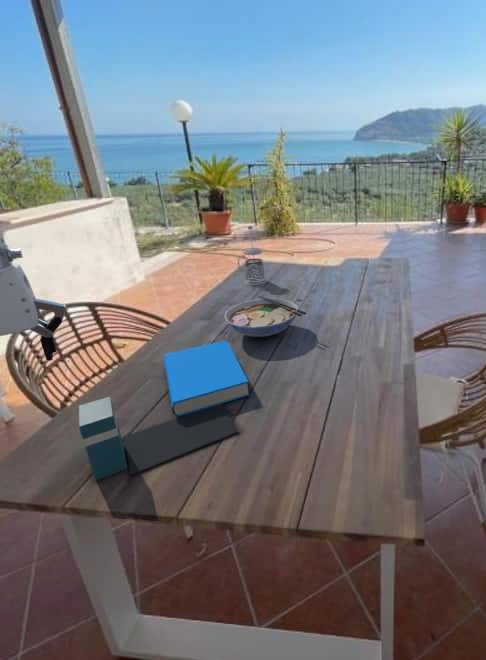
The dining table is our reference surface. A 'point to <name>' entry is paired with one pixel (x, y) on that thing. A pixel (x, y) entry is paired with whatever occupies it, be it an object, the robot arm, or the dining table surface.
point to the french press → (253, 261)
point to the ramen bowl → (262, 316)
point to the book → (204, 377)
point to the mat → (177, 437)
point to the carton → (102, 437)
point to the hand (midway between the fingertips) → (12, 366)
